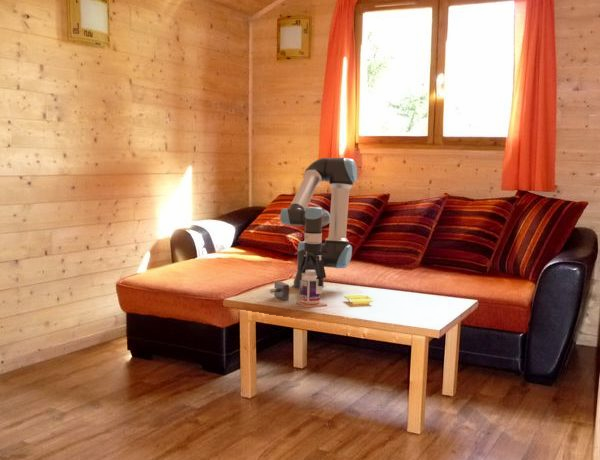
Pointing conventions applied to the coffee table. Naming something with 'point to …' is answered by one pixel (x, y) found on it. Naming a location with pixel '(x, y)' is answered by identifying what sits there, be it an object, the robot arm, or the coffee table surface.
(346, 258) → the robot arm
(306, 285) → the pill bottle
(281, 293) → the vise
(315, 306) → the tile
